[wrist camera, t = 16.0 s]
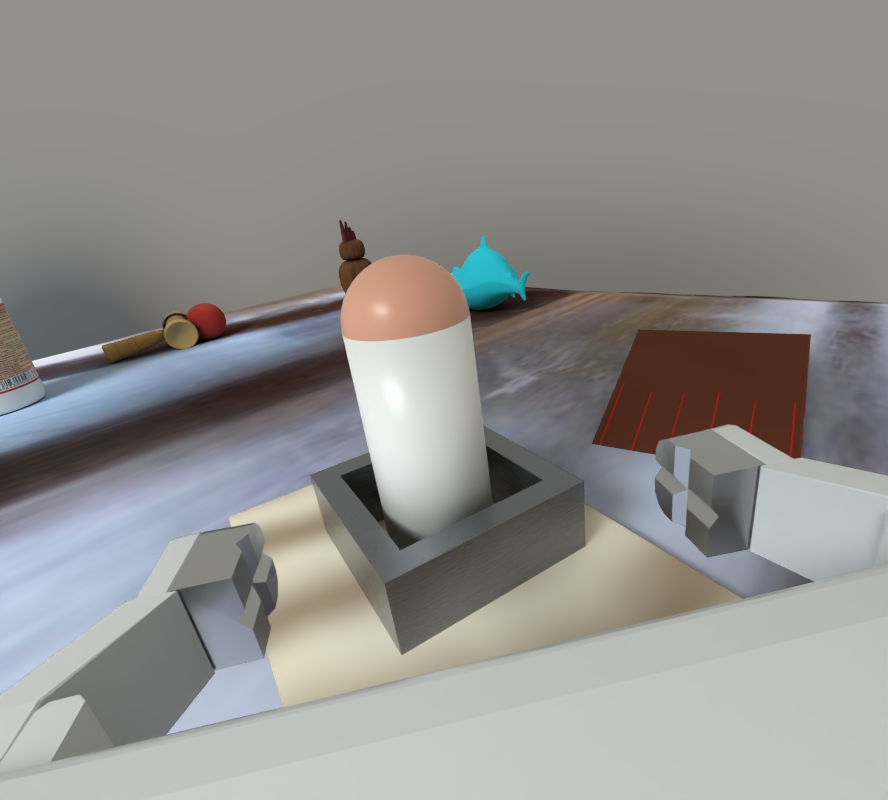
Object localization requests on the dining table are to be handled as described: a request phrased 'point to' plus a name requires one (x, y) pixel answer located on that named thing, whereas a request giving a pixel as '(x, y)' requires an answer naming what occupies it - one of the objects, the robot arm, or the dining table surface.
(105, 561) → the dining table surface
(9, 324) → the fruit juice
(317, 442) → the dining table surface
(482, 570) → the cradle
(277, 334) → the dining table surface
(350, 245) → the wooden figurine
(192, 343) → the kendama
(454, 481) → the peach-domed white capsule
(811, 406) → the dining table surface
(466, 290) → the toy shark
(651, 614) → the jig board
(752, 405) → the roof
